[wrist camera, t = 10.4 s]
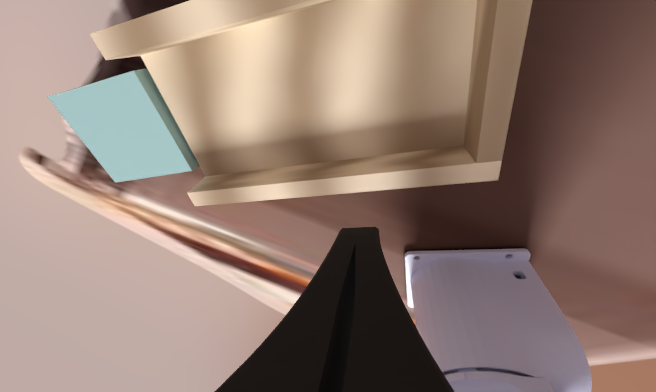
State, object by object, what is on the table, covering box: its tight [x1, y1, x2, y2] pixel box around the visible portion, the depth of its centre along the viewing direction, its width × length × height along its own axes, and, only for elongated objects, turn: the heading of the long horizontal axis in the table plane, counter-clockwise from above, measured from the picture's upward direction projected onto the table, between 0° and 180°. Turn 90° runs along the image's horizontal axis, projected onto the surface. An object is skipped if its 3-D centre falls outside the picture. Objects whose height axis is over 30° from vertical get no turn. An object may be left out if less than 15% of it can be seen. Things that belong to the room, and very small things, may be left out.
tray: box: [90, 0, 533, 206], centre depth 14 cm, size 20×11×3 cm, turn 102°
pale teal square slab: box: [48, 68, 199, 182], centre depth 19 cm, size 8×7×2 cm
